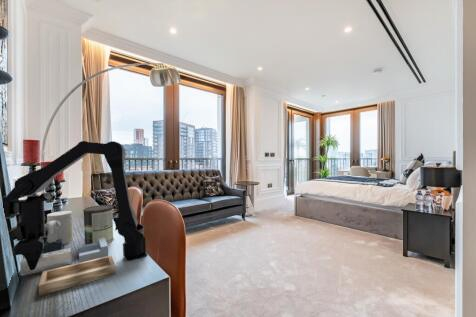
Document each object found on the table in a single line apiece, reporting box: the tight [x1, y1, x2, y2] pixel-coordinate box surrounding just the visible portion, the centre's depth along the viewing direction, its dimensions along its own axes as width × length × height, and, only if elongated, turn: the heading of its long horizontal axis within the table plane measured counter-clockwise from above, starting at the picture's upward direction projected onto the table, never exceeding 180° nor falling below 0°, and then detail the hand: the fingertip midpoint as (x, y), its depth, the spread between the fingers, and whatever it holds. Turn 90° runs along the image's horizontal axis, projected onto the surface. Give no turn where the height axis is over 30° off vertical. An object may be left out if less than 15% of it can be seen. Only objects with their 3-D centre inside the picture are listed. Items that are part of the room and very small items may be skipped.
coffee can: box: [82, 204, 114, 245], centre depth 94 cm, size 10×10×14 cm
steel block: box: [19, 247, 72, 275], centre depth 72 cm, size 12×4×4 cm, turn 129°
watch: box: [42, 221, 63, 254], centre depth 86 cm, size 6×8×11 cm
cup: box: [46, 210, 74, 246], centre depth 95 cm, size 8×8×12 cm
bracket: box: [78, 237, 109, 263], centre depth 79 cm, size 8×10×4 cm
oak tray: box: [38, 254, 117, 297], centre depth 66 cm, size 17×9×3 cm, turn 125°
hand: (33, 266), depth 70 cm, fingers open, 4 cm apart
